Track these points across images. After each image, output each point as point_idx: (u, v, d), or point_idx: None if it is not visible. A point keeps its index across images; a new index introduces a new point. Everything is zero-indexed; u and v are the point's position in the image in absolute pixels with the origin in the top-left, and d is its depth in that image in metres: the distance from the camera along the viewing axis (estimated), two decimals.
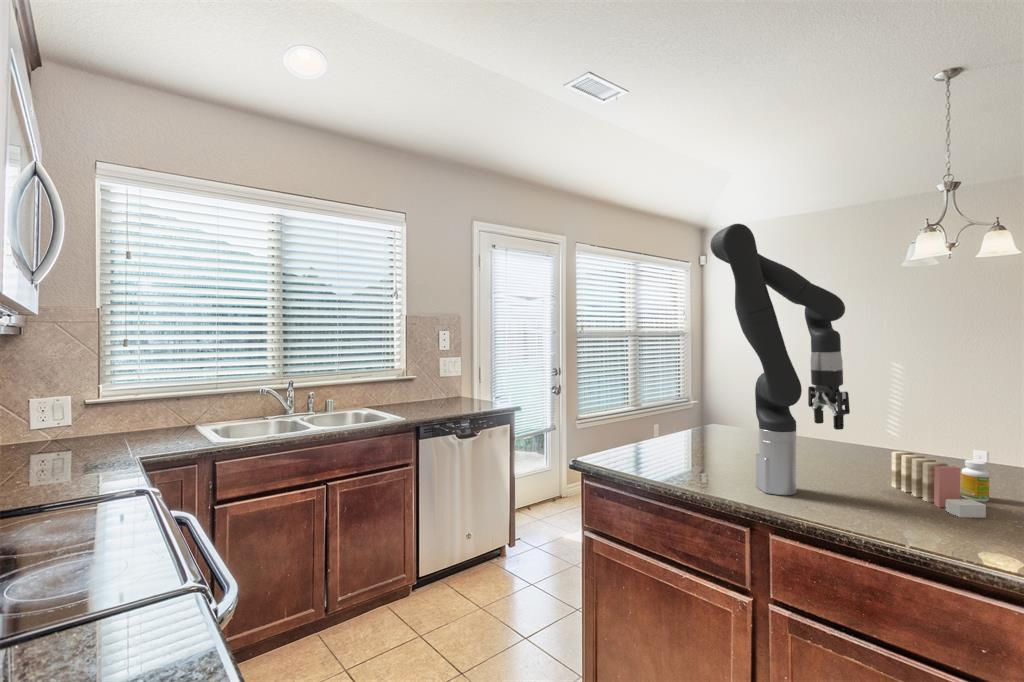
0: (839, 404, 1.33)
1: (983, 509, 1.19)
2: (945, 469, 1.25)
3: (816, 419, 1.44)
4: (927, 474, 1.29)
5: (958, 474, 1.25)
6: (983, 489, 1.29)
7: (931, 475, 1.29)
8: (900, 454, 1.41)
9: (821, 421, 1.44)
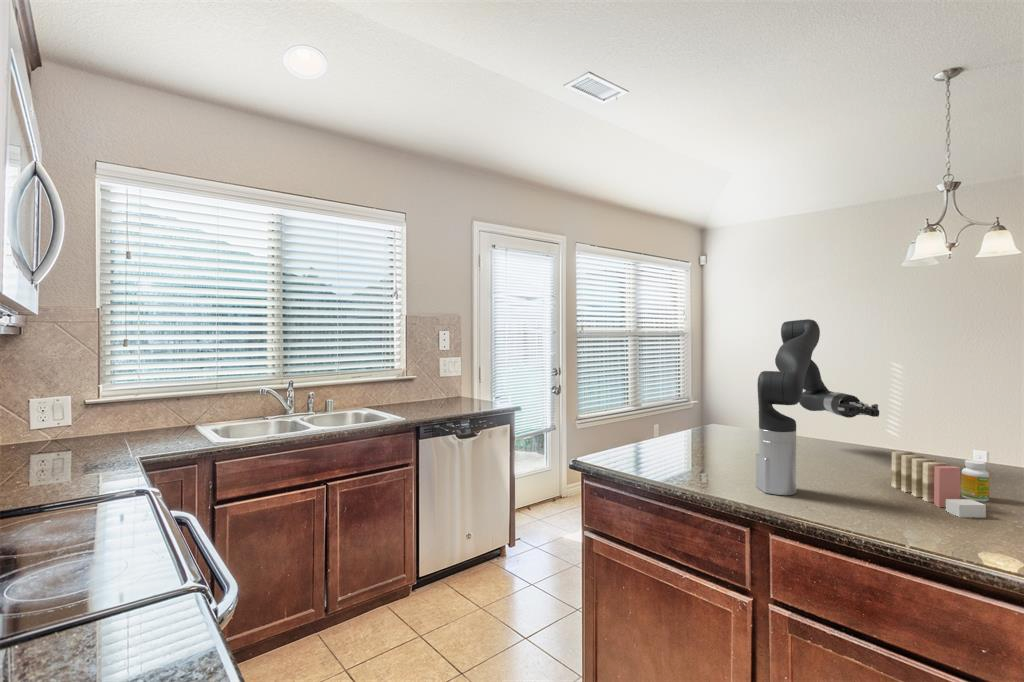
0: (876, 405, 1.58)
1: (983, 509, 1.19)
2: (945, 469, 1.25)
3: None
4: (927, 474, 1.29)
5: (958, 474, 1.25)
6: (983, 489, 1.29)
7: (931, 475, 1.29)
8: (900, 454, 1.41)
9: None
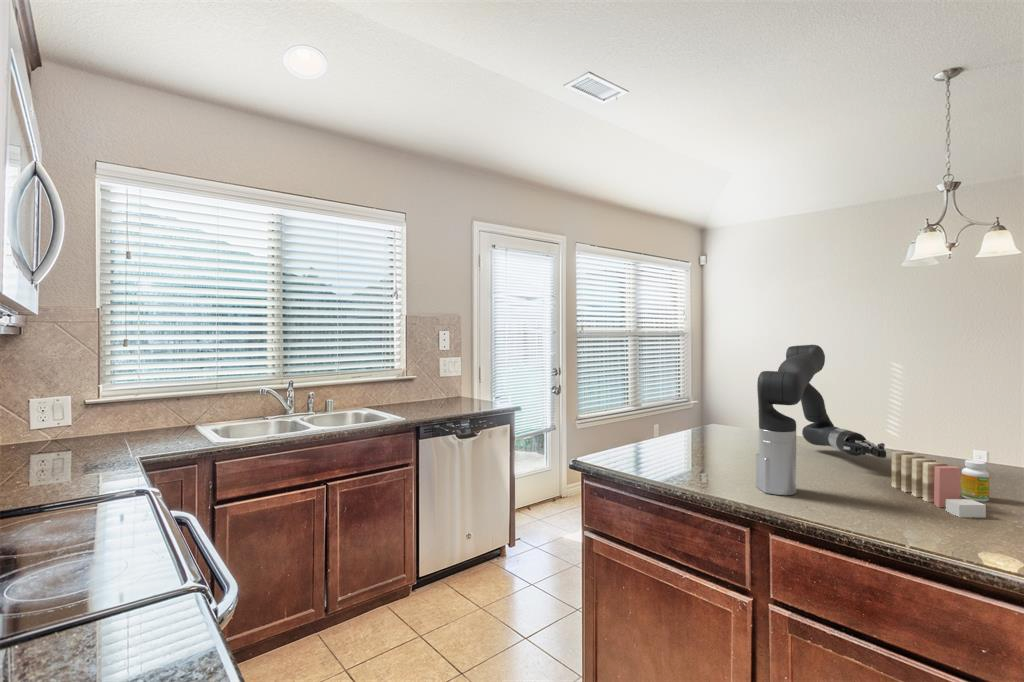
0: (882, 445, 1.55)
1: (983, 509, 1.19)
2: (945, 469, 1.25)
3: None
4: (927, 474, 1.29)
5: (958, 474, 1.25)
6: (983, 489, 1.29)
7: (931, 475, 1.29)
8: (900, 454, 1.41)
9: None
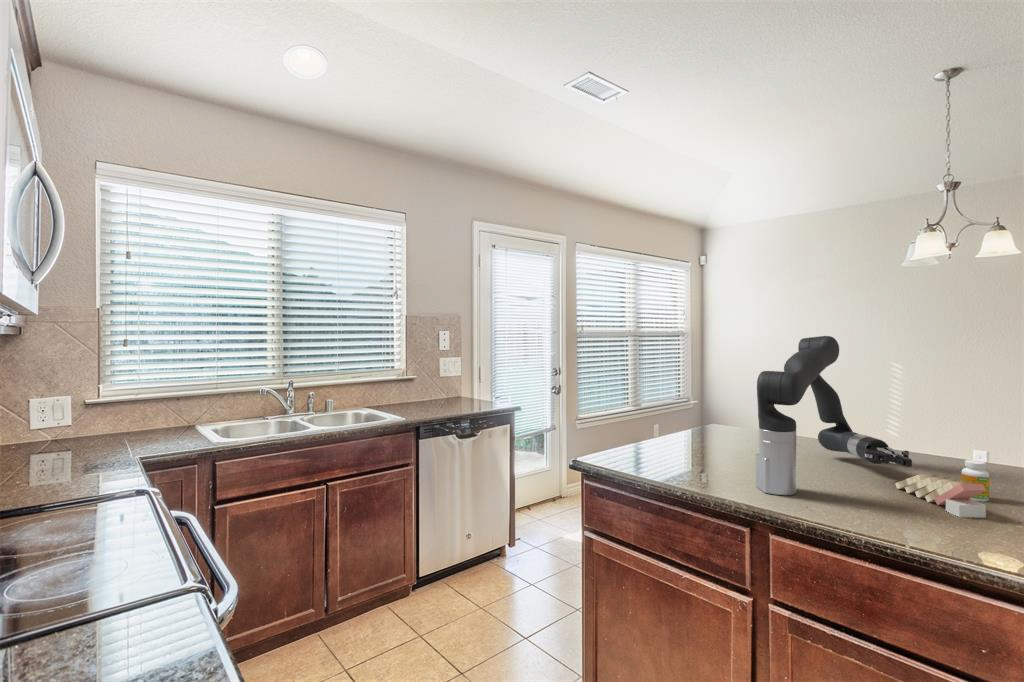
0: (907, 453, 1.45)
1: (983, 509, 1.19)
2: (969, 490, 1.19)
3: None
4: (945, 491, 1.24)
5: (979, 492, 1.19)
6: None
7: None
8: None
9: None
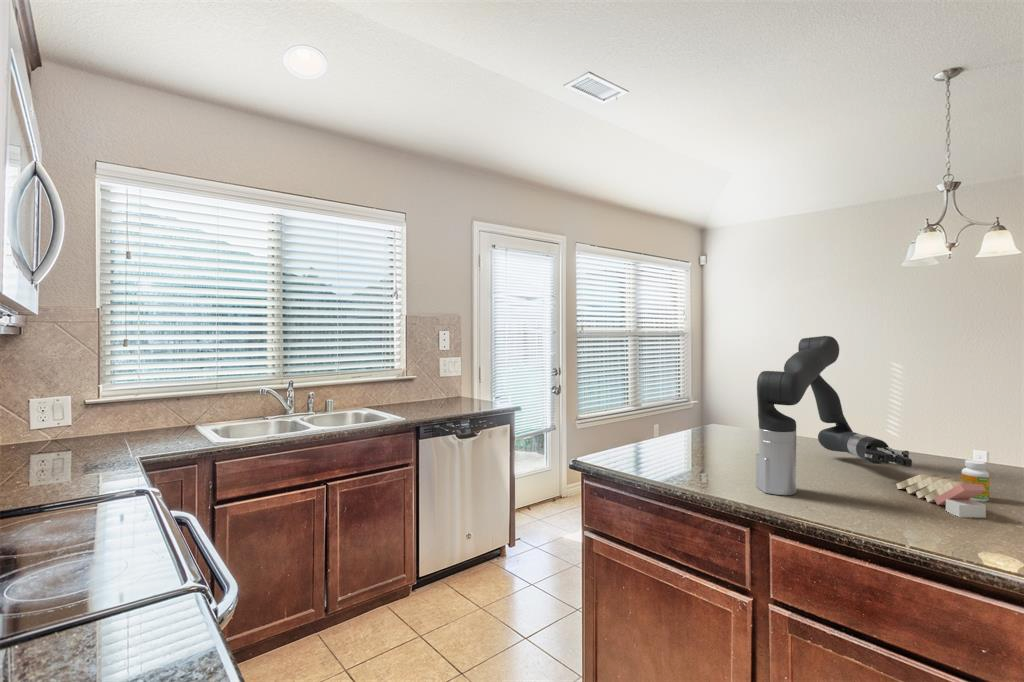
0: (907, 453, 1.45)
1: (983, 509, 1.19)
2: (969, 491, 1.19)
3: None
4: (945, 491, 1.24)
5: (979, 493, 1.19)
6: None
7: None
8: None
9: None
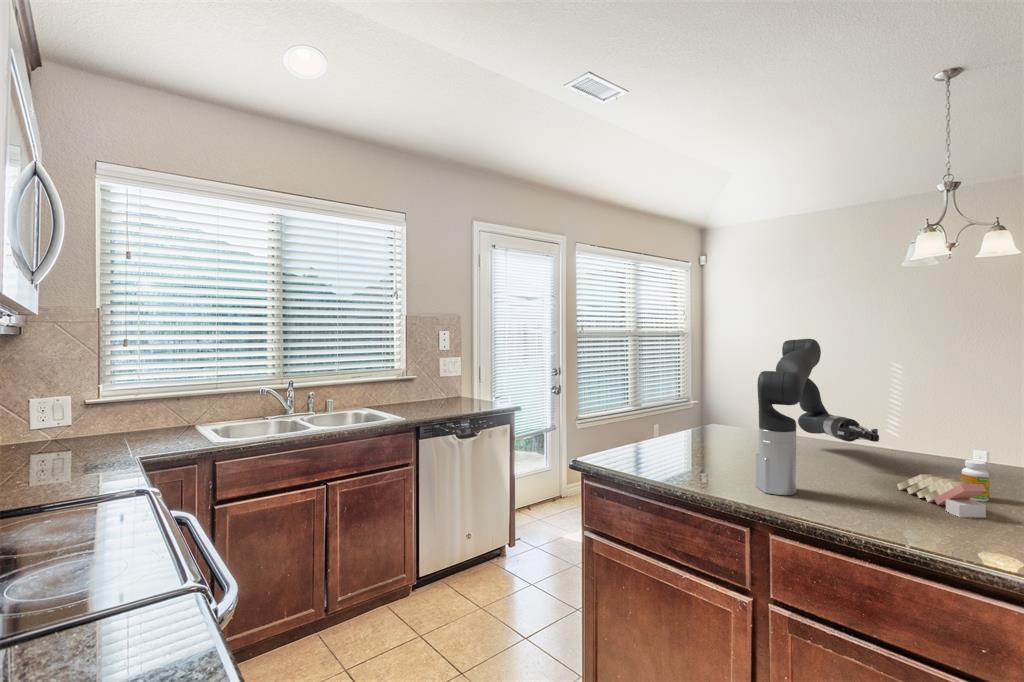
0: (875, 430, 1.58)
1: (983, 509, 1.19)
2: (969, 491, 1.19)
3: None
4: (945, 491, 1.24)
5: (979, 493, 1.19)
6: None
7: None
8: None
9: None
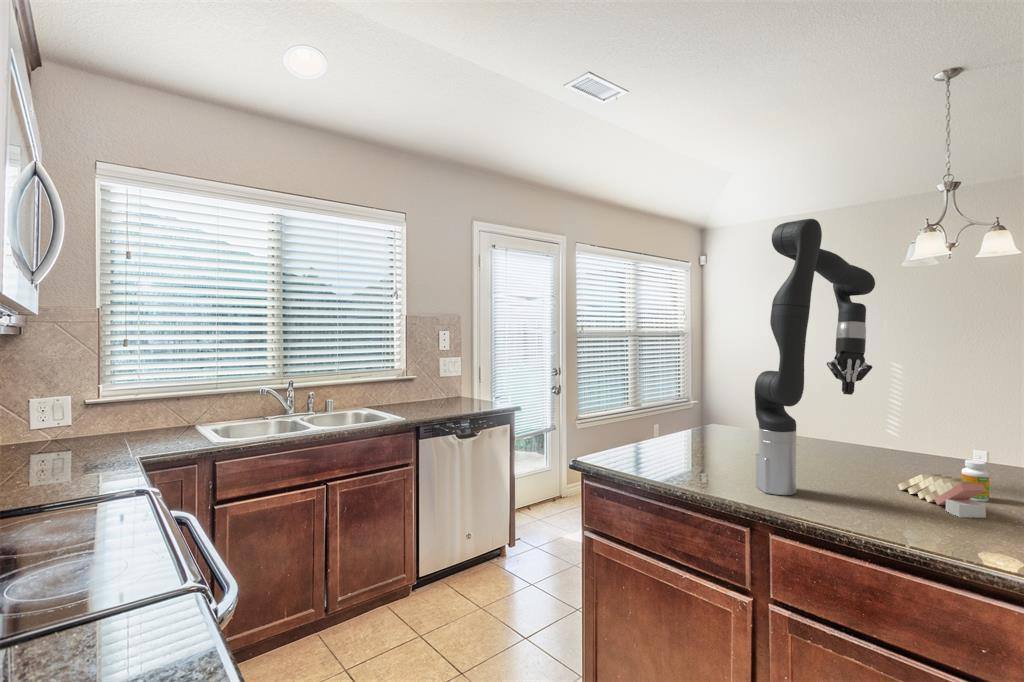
0: (865, 374, 1.51)
1: (983, 509, 1.19)
2: (969, 490, 1.19)
3: None
4: (945, 491, 1.24)
5: (979, 492, 1.19)
6: None
7: None
8: None
9: None
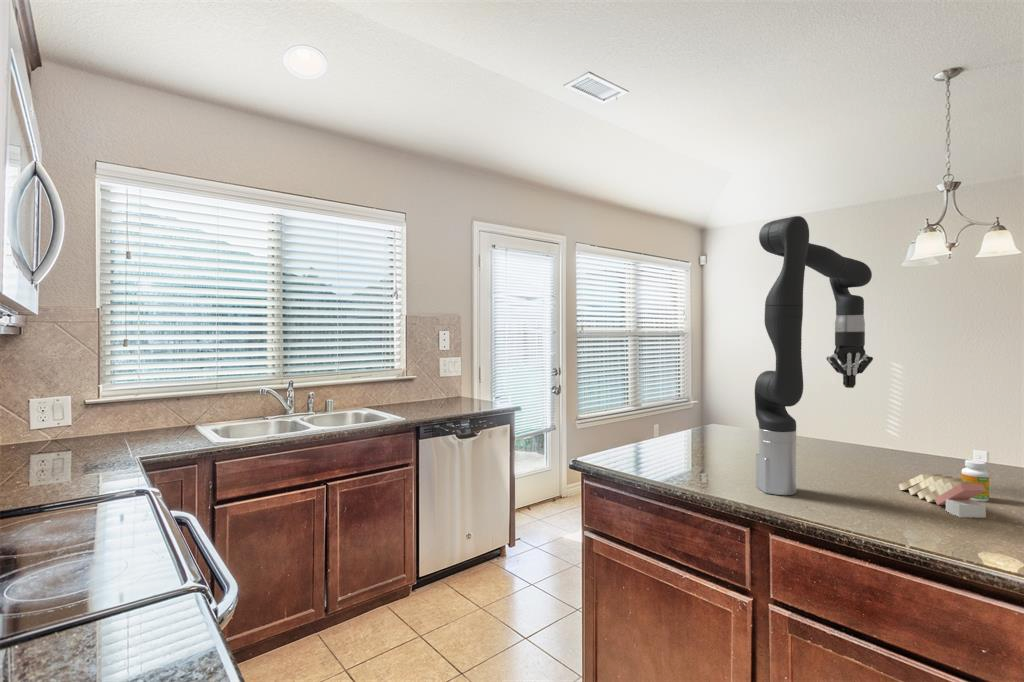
0: (866, 366, 1.51)
1: (983, 509, 1.19)
2: (969, 490, 1.19)
3: None
4: (945, 491, 1.24)
5: (979, 492, 1.19)
6: None
7: None
8: None
9: None
